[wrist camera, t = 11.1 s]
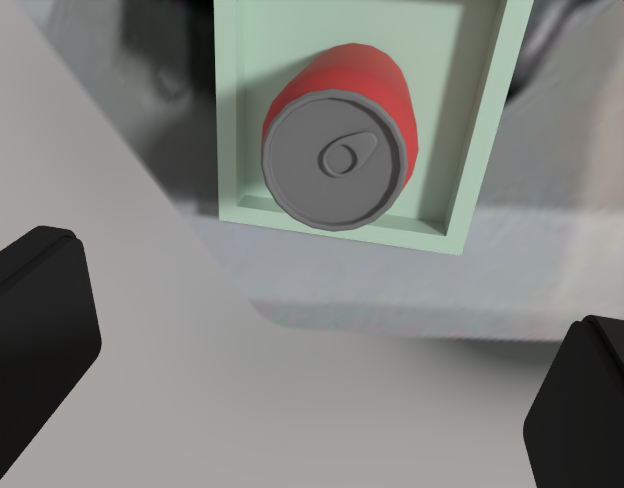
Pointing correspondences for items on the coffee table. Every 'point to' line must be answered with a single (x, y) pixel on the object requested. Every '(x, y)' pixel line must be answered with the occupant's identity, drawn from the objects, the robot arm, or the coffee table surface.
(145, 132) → the coffee table surface
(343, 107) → the beer can
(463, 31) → the tray
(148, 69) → the coffee table surface
